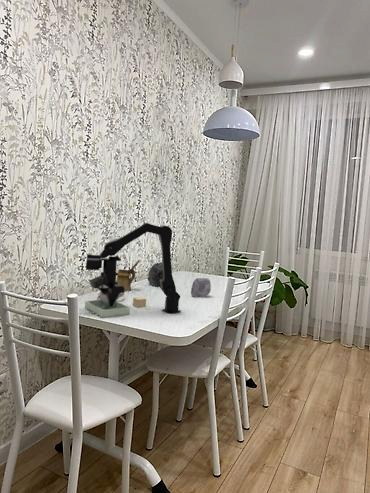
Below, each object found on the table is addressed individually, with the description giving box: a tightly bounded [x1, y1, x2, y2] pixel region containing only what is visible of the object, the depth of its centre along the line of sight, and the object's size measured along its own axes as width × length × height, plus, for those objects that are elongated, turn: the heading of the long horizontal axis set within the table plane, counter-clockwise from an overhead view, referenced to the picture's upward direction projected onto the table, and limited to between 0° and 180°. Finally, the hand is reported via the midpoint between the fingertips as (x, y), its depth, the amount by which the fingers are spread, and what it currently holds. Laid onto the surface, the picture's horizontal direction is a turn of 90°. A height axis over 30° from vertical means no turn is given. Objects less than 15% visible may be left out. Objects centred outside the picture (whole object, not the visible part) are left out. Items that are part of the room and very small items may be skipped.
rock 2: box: [190, 277, 212, 298], centre depth 213 cm, size 10×6×10 cm, turn 118°
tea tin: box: [99, 292, 118, 309], centre depth 171 cm, size 6×6×6 cm
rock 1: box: [147, 262, 163, 287], centre depth 237 cm, size 16×14×15 cm
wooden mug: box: [116, 259, 140, 292], centre depth 218 cm, size 9×14×18 cm, turn 84°
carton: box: [132, 296, 147, 309], centre depth 184 cm, size 4×4×4 cm
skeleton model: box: [96, 291, 126, 300], centre depth 196 cm, size 24×13×5 cm, turn 10°
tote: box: [84, 299, 131, 319], centre depth 171 cm, size 18×13×3 cm
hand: (108, 304), depth 171 cm, fingers closed on tea tin, 5 cm apart
